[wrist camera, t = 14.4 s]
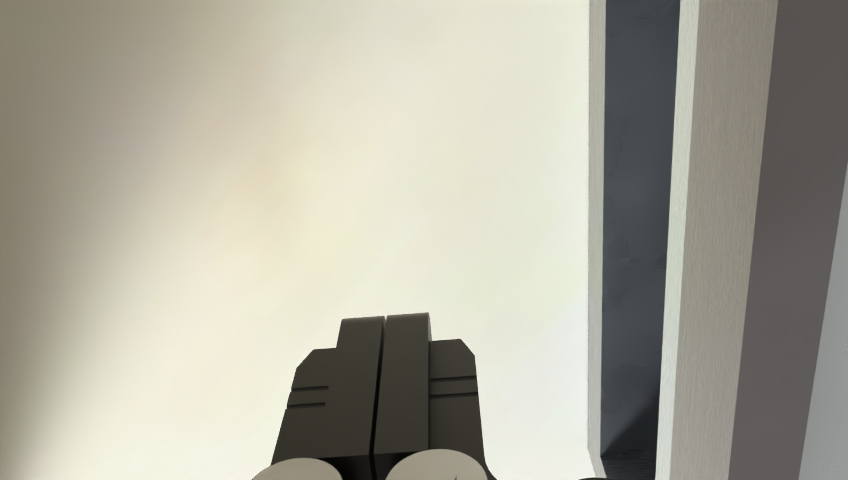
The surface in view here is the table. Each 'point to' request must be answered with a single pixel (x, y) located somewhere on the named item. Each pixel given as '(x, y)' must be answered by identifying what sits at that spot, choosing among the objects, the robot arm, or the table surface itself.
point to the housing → (628, 227)
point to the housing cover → (757, 245)
